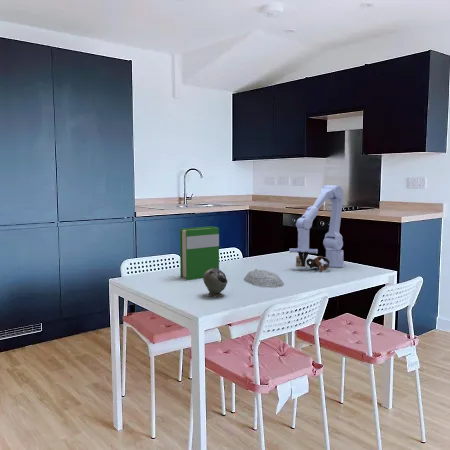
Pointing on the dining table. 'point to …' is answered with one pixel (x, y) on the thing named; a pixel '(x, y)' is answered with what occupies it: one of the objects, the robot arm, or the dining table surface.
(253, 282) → the grey rock
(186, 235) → the hardback book
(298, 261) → the letter cube
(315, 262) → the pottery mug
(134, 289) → the dining table surface
